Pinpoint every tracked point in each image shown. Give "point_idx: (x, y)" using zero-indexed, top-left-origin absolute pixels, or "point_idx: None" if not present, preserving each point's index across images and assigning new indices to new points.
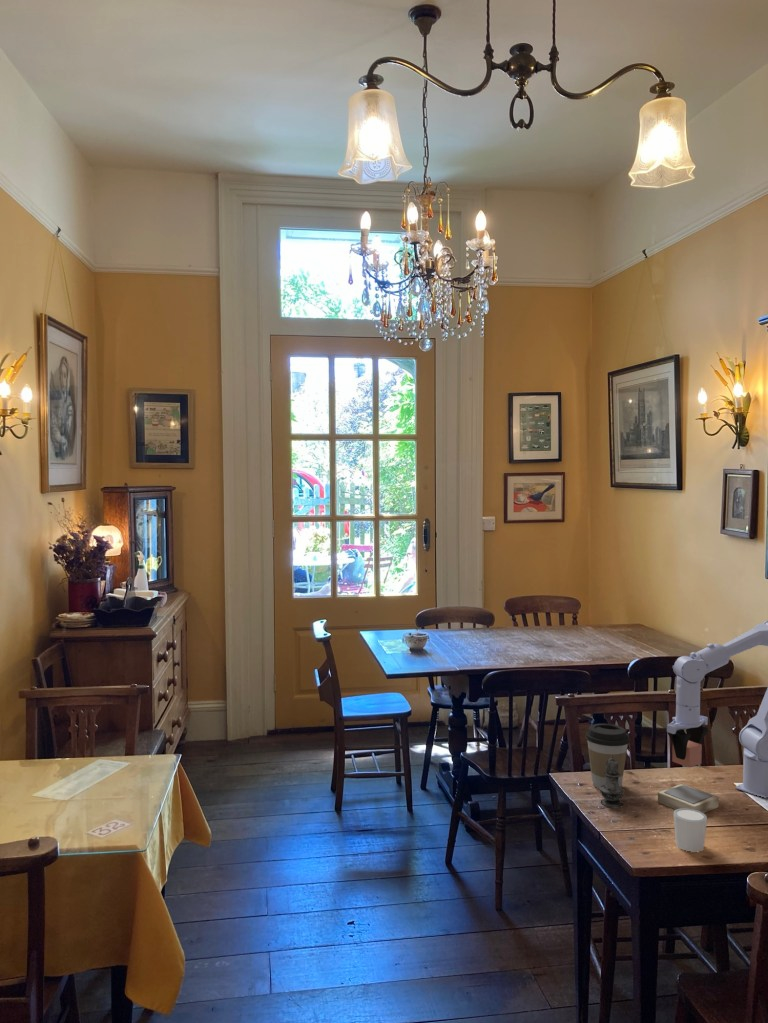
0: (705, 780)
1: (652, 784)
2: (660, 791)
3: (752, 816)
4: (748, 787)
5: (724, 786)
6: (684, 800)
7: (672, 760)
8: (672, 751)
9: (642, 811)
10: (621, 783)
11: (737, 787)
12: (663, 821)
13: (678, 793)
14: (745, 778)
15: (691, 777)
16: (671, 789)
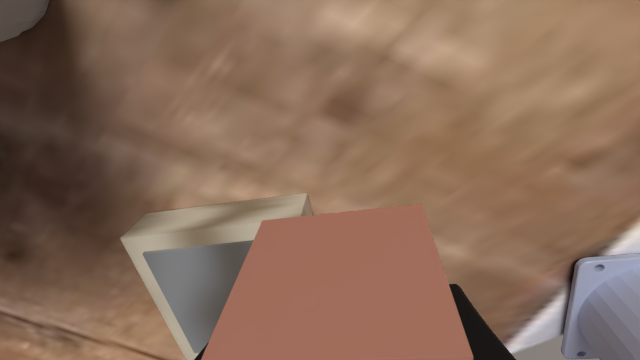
0: (566, 129)
1: (244, 49)
2: (136, 237)
3: None
4: (588, 318)
5: (564, 219)
6: (182, 326)
7: (259, 227)
8: (237, 278)
9: (50, 241)
10: (19, 28)
11: (578, 272)
12: (89, 309)
13: (196, 286)
14: (623, 334)
15: (543, 60)
16: (193, 249)
